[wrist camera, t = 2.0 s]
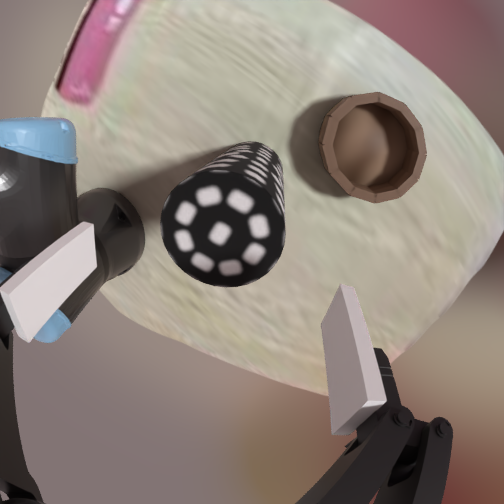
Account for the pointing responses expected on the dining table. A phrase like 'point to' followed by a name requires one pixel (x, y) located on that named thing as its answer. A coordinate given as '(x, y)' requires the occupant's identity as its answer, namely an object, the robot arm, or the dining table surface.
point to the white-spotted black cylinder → (228, 217)
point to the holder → (372, 146)
